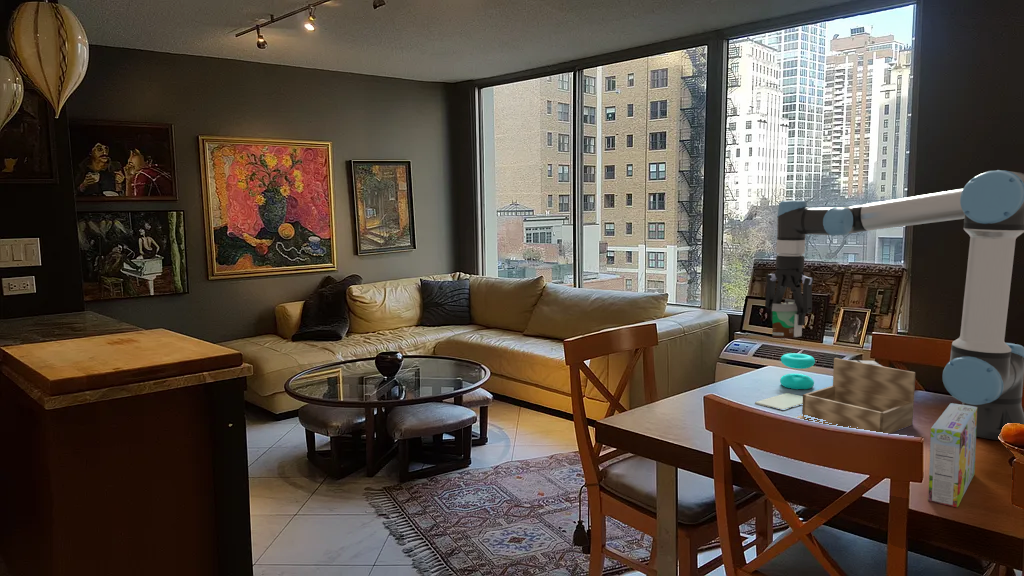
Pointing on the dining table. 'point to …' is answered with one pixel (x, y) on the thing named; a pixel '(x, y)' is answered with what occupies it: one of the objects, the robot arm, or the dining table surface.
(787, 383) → the donuts
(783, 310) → the food container
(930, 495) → the snack box
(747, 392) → the dining table surface
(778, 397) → the mat
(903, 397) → the wooden box
